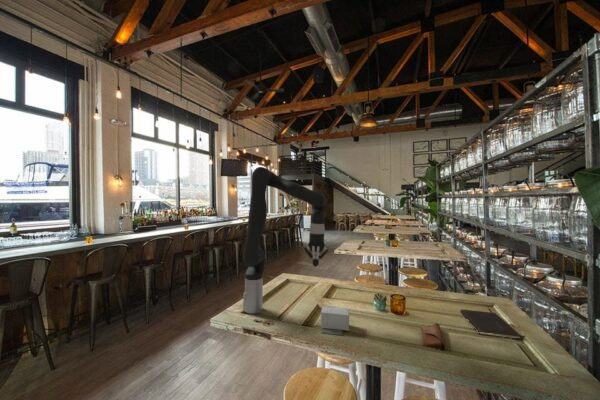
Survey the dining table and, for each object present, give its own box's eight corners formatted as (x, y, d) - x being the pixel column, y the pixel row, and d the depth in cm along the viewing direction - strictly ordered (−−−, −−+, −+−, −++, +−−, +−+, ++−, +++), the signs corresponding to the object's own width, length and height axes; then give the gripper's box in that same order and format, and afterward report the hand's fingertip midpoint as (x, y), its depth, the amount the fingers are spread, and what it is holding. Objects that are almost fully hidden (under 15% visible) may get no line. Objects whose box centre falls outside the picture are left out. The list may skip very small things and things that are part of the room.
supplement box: (320, 328, 118) (348, 331, 115) (320, 312, 118) (349, 314, 115) (322, 320, 125) (349, 323, 123) (322, 305, 125) (349, 308, 123)
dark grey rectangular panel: (321, 333, 114) (321, 332, 114) (325, 317, 129) (325, 317, 129) (342, 335, 113) (342, 334, 113) (343, 319, 127) (343, 318, 127)
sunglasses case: (419, 326, 122) (427, 315, 121) (433, 336, 120) (442, 325, 118) (421, 346, 105) (431, 334, 104) (438, 358, 103) (448, 346, 102)
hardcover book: (495, 317, 134) (495, 312, 134) (520, 341, 112) (520, 335, 112) (460, 313, 138) (460, 309, 138) (478, 335, 116) (478, 330, 115)
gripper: (302, 232, 129) (301, 266, 129) (329, 234, 126) (327, 269, 126) (305, 230, 136) (304, 263, 136) (330, 232, 133) (329, 265, 133)
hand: (315, 266), depth 131 cm, fingers closed
